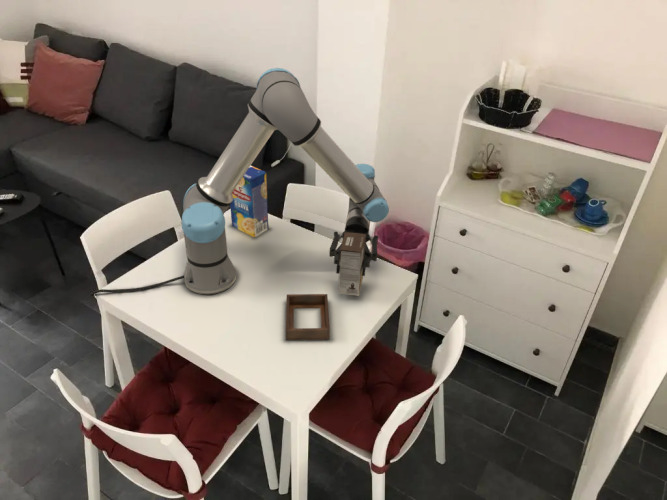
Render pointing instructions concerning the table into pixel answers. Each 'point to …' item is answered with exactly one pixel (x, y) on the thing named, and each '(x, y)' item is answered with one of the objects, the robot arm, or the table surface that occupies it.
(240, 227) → the beverage box
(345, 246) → the coffee box
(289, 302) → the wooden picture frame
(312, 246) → the table surface
